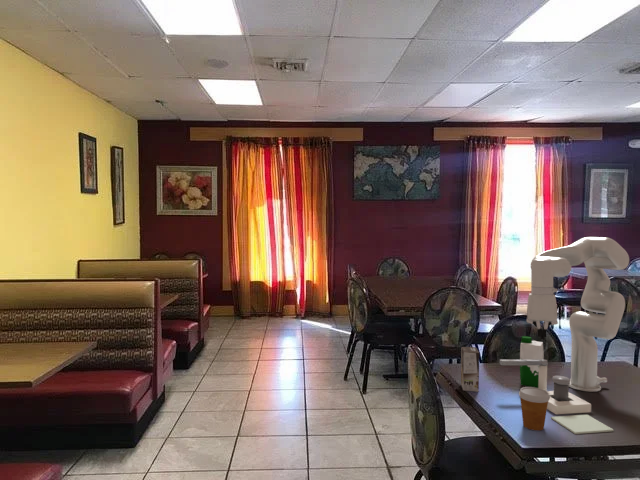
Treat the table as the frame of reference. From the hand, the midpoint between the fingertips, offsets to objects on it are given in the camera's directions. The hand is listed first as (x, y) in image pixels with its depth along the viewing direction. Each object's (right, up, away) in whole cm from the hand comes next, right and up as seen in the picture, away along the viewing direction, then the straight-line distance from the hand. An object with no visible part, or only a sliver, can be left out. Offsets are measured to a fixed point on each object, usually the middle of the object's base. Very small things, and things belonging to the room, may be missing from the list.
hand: (541, 338), depth 175 cm
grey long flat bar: (-3, -12, +8) cm, 15 cm away
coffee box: (-22, -24, +17) cm, 37 cm away
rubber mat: (+4, -25, -19) cm, 32 cm away
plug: (+6, -25, -3) cm, 26 cm away
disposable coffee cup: (-13, -26, -20) cm, 35 cm away
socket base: (+5, -25, +1) cm, 25 cm away
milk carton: (+5, -24, +21) cm, 32 cm away
